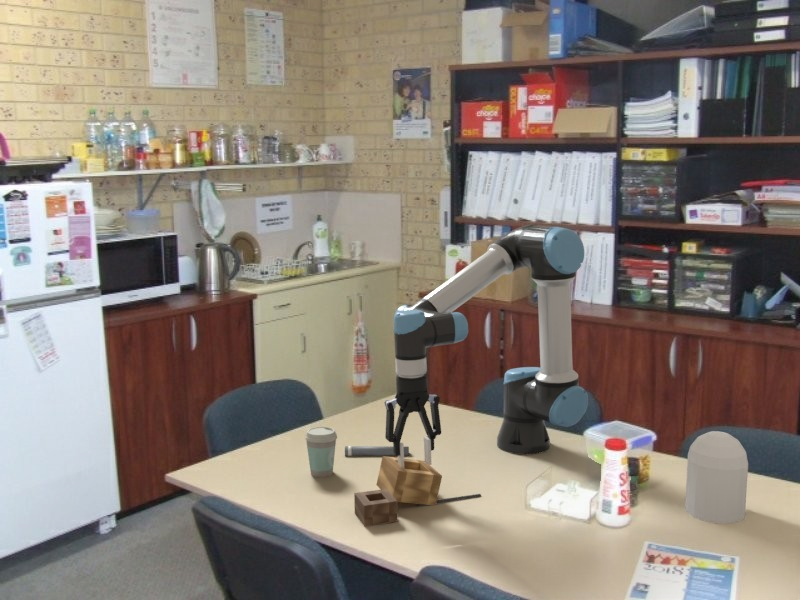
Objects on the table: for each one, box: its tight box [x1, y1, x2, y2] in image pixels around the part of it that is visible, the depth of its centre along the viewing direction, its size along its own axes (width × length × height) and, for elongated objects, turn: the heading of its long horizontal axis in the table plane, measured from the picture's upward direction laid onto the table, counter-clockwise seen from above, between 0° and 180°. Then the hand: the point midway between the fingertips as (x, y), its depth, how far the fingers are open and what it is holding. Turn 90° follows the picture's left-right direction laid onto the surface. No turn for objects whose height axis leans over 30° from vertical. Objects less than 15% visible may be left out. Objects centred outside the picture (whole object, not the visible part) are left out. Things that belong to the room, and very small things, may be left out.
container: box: [684, 430, 749, 525], centre depth 203 cm, size 13×13×20 cm
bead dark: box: [353, 489, 398, 527], centre depth 202 cm, size 8×8×5 cm
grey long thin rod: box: [417, 493, 482, 507], centre depth 212 cm, size 17×1×1 cm, turn 109°
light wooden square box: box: [376, 456, 443, 506], centre depth 213 cm, size 12×12×8 cm
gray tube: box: [344, 445, 410, 457], centre depth 244 cm, size 3×3×18 cm
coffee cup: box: [304, 426, 338, 478], centre depth 230 cm, size 9×8×12 cm
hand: (414, 465), depth 212 cm, fingers open, 6 cm apart
